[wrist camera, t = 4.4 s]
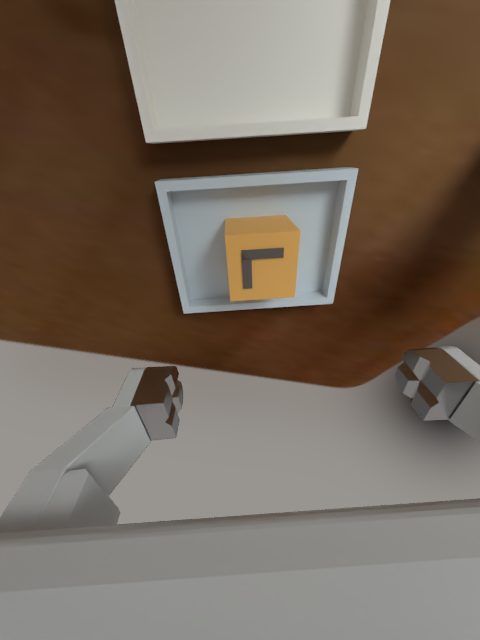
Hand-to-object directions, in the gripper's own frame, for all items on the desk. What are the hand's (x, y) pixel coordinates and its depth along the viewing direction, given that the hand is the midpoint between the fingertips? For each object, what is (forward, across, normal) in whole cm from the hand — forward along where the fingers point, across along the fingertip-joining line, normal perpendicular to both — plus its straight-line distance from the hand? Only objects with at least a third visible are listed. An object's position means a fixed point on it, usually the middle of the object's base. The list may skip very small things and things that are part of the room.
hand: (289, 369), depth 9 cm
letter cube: (+13, 0, -1) cm, 13 cm away
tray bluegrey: (+14, 0, -1) cm, 14 cm away
